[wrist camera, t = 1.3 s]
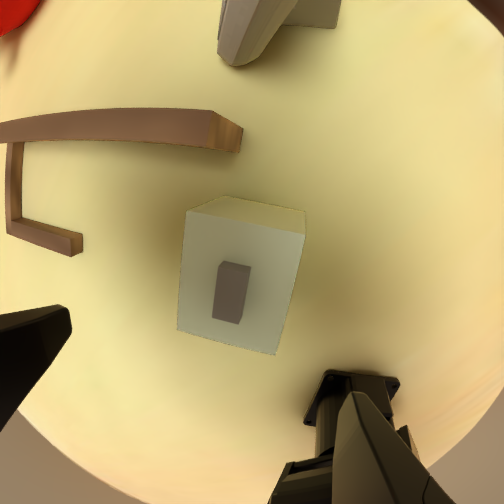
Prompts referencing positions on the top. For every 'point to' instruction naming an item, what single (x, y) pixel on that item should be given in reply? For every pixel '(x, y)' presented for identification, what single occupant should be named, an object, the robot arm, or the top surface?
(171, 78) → the top surface
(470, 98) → the top surface
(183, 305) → the cabinet block
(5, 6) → the ceramic cup
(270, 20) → the digital clock
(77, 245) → the wall board
